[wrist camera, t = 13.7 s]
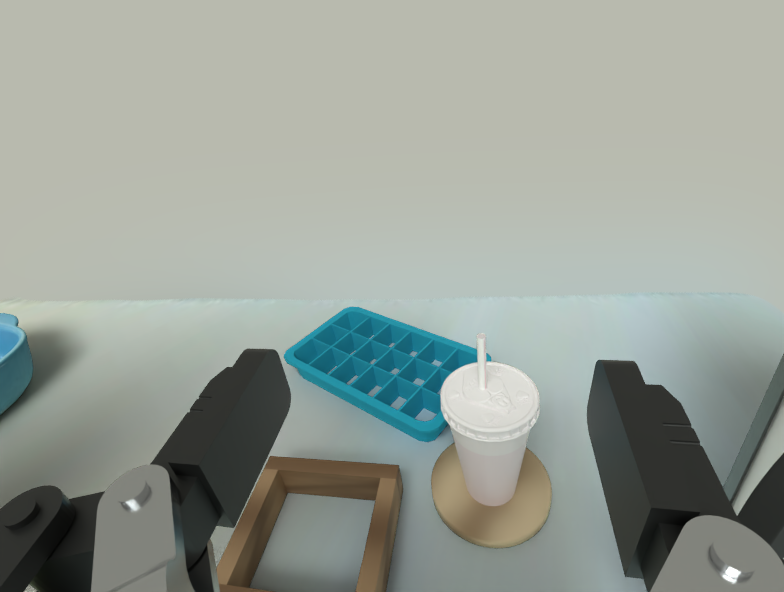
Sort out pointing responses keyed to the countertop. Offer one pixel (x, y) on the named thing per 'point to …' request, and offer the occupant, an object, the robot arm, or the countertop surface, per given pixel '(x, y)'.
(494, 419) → the smoothie
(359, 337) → the ice cube tray
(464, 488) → the trivet
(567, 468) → the countertop surface
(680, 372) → the countertop surface
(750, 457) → the coffee press
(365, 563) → the square wooden frame
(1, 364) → the casserole dish
